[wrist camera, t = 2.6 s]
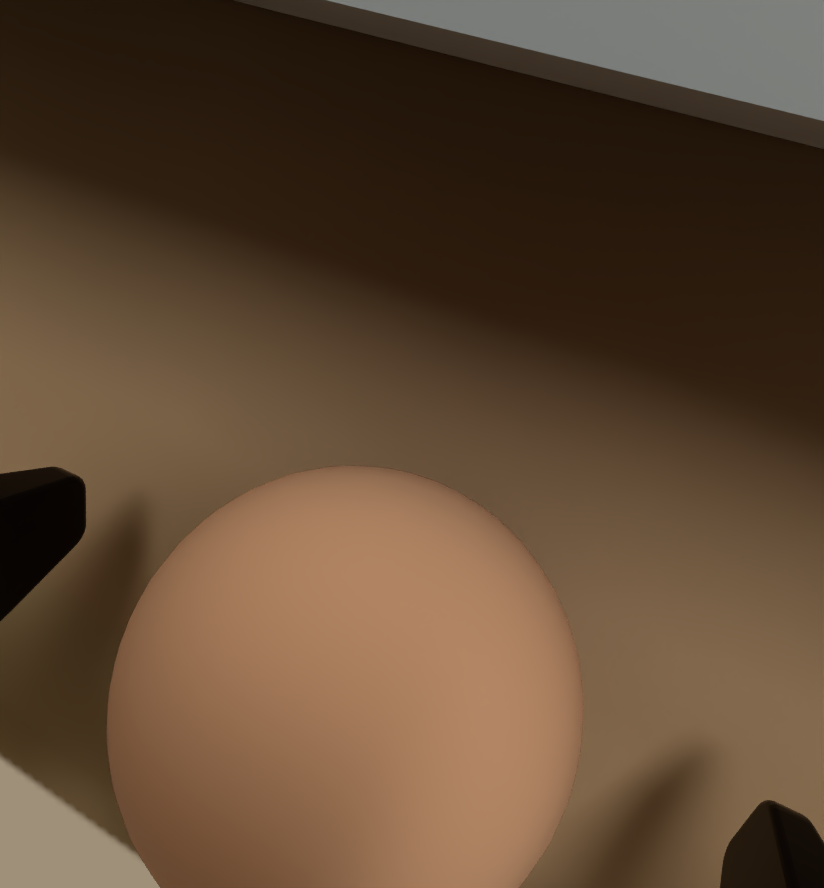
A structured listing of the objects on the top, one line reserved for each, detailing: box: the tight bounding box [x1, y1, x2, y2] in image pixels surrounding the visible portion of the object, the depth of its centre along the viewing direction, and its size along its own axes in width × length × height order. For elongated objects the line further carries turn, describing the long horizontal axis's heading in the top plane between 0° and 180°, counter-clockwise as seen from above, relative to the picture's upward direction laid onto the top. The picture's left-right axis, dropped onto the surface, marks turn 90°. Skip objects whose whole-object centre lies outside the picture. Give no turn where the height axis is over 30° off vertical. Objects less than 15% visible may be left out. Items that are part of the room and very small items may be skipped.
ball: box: [107, 465, 583, 888], centre depth 8 cm, size 5×5×5 cm
